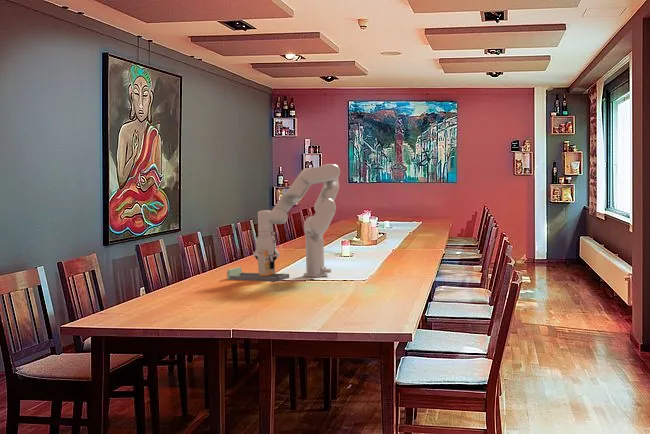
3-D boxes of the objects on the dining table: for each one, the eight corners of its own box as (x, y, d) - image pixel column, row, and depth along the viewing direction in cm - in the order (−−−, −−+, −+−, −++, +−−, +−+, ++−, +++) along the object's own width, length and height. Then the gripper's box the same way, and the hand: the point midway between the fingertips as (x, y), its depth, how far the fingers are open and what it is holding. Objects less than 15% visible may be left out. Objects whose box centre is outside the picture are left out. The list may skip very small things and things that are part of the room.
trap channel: (289, 277, 408) (288, 268, 408) (278, 281, 396) (278, 271, 396) (239, 276, 419) (238, 266, 419) (227, 279, 407) (227, 270, 407)
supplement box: (265, 276, 401) (263, 251, 400) (258, 276, 404) (256, 251, 403) (275, 273, 408) (274, 248, 406) (268, 273, 411) (267, 248, 409)
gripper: (283, 233, 405) (284, 268, 406) (254, 233, 411) (255, 267, 412) (277, 234, 398) (278, 270, 399) (247, 234, 404) (248, 269, 405)
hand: (266, 268), depth 405 cm, fingers closed on supplement box, 5 cm apart
